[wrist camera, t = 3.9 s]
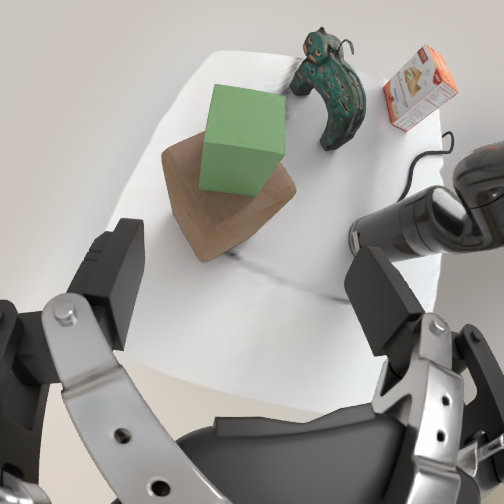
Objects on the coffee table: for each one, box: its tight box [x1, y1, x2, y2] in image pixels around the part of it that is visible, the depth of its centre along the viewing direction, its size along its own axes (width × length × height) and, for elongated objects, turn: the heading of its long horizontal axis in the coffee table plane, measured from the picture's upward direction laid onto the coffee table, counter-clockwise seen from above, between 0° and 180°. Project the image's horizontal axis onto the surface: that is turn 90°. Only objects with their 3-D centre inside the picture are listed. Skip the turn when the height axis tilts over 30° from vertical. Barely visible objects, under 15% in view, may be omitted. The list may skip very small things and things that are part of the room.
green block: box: [199, 84, 286, 197], centre depth 20 cm, size 5×5×8 cm
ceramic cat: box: [289, 27, 366, 151], centre depth 41 cm, size 20×6×20 cm, turn 20°
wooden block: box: [161, 131, 296, 262], centre depth 33 cm, size 10×10×20 cm
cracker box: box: [384, 45, 458, 131], centre depth 47 cm, size 14×6×21 cm, turn 174°
